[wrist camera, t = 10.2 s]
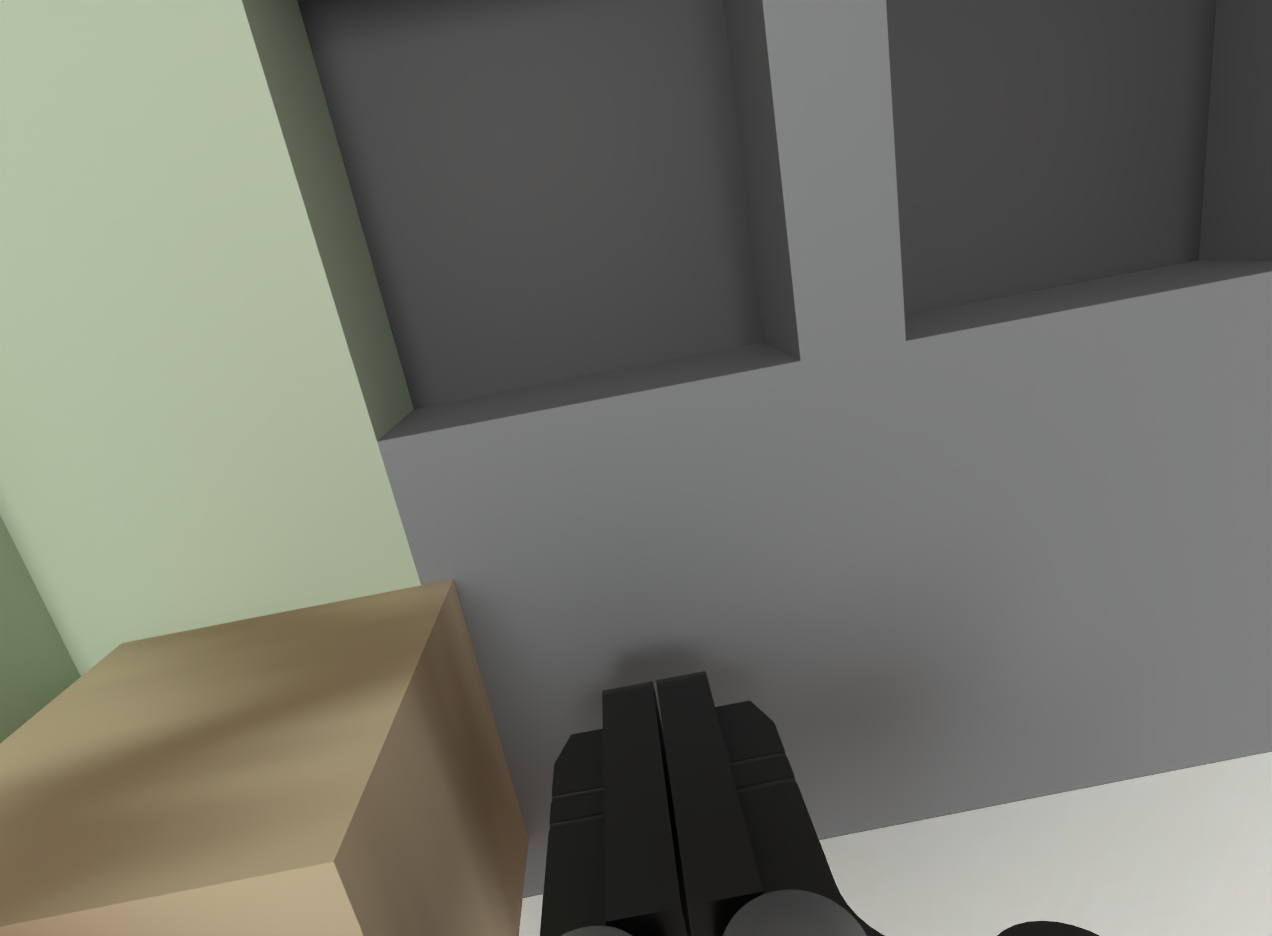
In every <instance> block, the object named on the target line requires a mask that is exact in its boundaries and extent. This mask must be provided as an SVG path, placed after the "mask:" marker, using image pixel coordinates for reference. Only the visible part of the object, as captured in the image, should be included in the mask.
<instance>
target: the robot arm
mask: <svg viewBox="0 0 1272 936" xmlns="http://www.w3.org/2000/svg"><path fill="white" fill-rule="evenodd" d="M656 684H657V692H658V699H659V706H660V713H661V718H660V713H659V708H658V703H657V699H656V694H655V689H654V685H653V681H650V682H645V683H640V684H634V685H629V686H624V687H619V688H613V689H608V690H603V693H602V714H603V729H598V730H592V731H587V732H582V733H576V734H571V736H570V737H569V739H568V741H567V743H566V744H565V746H564V748H563V749H562V751H561V753H560V755H559V756H558V758H557V760H556V762H555V763H554V771H553V784H552V802H551V808H550V820H549V824H550V830H549V832H548V844H547V857H546V869H545V881H544V893H543V905H542V917H541V929H540V936H884V935H882V934H881V933H879V932H878V931H876V930H874V929H873V928H871V927H870V926H869V925H867V924H866V923H865V922H864V921H863V920H862V919H860V918H859V917H858V916H857V915H856V914H855V913H854V912H853V910H852V909H851V908H850V907H849V906H848V905H847V903H846V902H845V900H844V899H843V897H842V896H841V894H840V892H839V890H838V888H837V886H836V884H835V881H834V879H833V876H832V873H831V871H830V868H829V865H828V863H827V860H826V857H825V855H824V852H823V850H822V847H821V844H820V842H819V839H818V836H817V834H816V831H815V828H814V826H813V823H812V821H811V818H810V815H809V813H808V810H807V807H806V805H805V802H804V799H803V797H802V794H801V792H800V789H799V786H798V784H797V783H796V780H795V776H794V773H793V770H792V768H791V765H790V763H789V760H788V757H786V753H785V749H784V747H783V744H782V742H781V739H780V736H779V734H778V731H777V728H776V726H775V723H774V722H773V721H772V720H771V719H770V718H769V717H768V716H767V715H766V714H765V713H763V712H762V711H761V710H760V709H759V708H758V707H757V706H756V705H755V704H753V703H752V702H751V701H750V700H749V701H744V702H739V703H734V704H728V705H723V706H718V707H715V705H714V701H713V697H712V693H711V689H710V686H709V682H708V678H707V674H706V671H702V672H697V673H691V674H686V675H681V676H676V677H670V678H665V679H660V680H656ZM661 720H662V723H661ZM662 727H663V728H662ZM997 936H1099V935H1097V934H1095V933H1093V932H1091V931H1088V930H1085V929H1082V928H1079V927H1076V926H1073V925H1069V924H1064V923H1059V922H1050V921H1033V922H1025V923H1021V924H1017V925H1014V926H1012V927H1010V928H1008V929H1006V930H1004V931H1002V932H1001V933H1000V934H999V935H997Z"/></svg>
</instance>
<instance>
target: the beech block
mask: <svg viewBox="0 0 1272 936" xmlns="http://www.w3.org/2000/svg"><path fill="white" fill-rule="evenodd" d="M528 841H529V838H528V835H527V831H526V828H525V825H524V821H523V818H522V814H521V811H520V807H519V804H518V800H517V797H516V794H515V790H514V787H513V783H512V780H511V776H510V773H509V770H508V766H507V763H506V759H505V756H504V752H503V749H502V745H501V742H500V739H499V735H498V732H497V728H496V725H495V721H494V718H493V714H492V711H491V708H490V704H489V701H488V697H487V694H486V690H485V687H484V684H483V680H482V677H481V673H480V670H479V666H478V663H477V659H476V656H475V653H474V649H473V646H472V642H471V639H470V635H469V632H468V629H467V625H466V622H465V618H464V615H463V611H462V608H461V604H460V601H459V598H458V594H457V591H456V587H455V584H454V580H453V579H451V580H446V581H441V582H436V583H431V584H426V585H420V586H415V587H410V588H405V589H400V590H394V591H389V592H384V593H379V594H374V595H369V596H363V597H358V598H353V599H348V600H343V601H337V602H332V603H327V604H322V605H317V606H312V607H306V608H301V609H296V610H291V611H286V612H280V613H275V614H270V615H265V616H260V617H255V618H249V619H244V620H239V621H234V622H229V623H223V624H218V625H213V626H208V627H203V628H198V629H192V630H187V631H182V632H177V633H172V634H166V635H161V636H156V637H151V638H146V639H141V640H135V641H130V642H125V643H121V644H120V645H119V646H117V647H116V648H115V649H114V650H113V651H111V652H110V653H109V654H108V655H107V656H105V657H104V658H103V659H102V660H101V661H99V662H98V663H97V664H96V665H95V666H93V667H92V668H91V669H90V670H88V671H87V672H86V673H85V674H84V675H82V676H81V677H80V678H79V679H78V680H76V681H75V682H74V683H73V684H72V685H70V686H69V687H68V688H67V689H66V690H64V691H63V692H62V693H61V694H59V695H58V696H57V697H56V698H55V699H53V700H52V701H51V702H50V703H49V704H47V705H46V706H45V707H44V708H43V709H41V710H40V711H39V712H38V713H37V714H35V715H34V716H33V717H32V718H31V719H29V720H28V721H27V722H26V723H24V724H23V725H22V726H21V727H20V728H18V729H17V730H16V731H15V732H14V733H12V734H11V735H10V736H9V737H8V738H6V739H5V740H4V741H3V742H2V743H0V936H519V926H520V917H521V907H522V898H523V888H524V879H525V870H526V860H527V851H528Z"/></svg>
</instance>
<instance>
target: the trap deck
mask: <svg viewBox="0 0 1272 936" xmlns="http://www.w3.org/2000/svg"><path fill="white" fill-rule="evenodd" d="M451 579H453V580H454V584H455V587H456V591H457V594H458V598H459V601H460V604H461V608H462V611H463V615H464V618H465V622H466V625H467V629H468V632H469V635H470V639H471V642H472V646H473V649H474V653H475V656H476V659H477V663H478V666H479V670H480V673H481V677H482V680H483V684H484V687H485V690H486V694H487V697H488V701H489V704H490V708H491V711H492V714H493V718H494V721H495V725H496V728H497V732H498V735H499V739H500V742H501V745H502V749H503V752H504V756H505V759H506V763H507V766H508V770H509V773H510V776H511V780H512V783H513V787H514V790H515V794H516V797H517V800H518V804H519V807H520V811H521V814H522V818H523V821H524V825H525V828H526V831H527V835H528V838H529V841H528V851H527V860H526V870H525V879H524V888H523V898H525V897H530V896H535V895H540V894H543V893H544V881H545V869H546V857H547V844H548V832H549V830H550V824H549V820H550V808H551V802H552V784H553V771H554V763H555V762H556V760H557V758H558V756H559V755H560V753H561V751H562V749H563V748H564V746H565V744H566V743H567V741H568V739H569V737H570V736H571V734H576V733H582V732H587V731H592V730H598V729H603V714H602V693H603V690H608V689H613V688H619V687H624V686H629V685H634V684H640V683H645V682H650V681H653V685H654V689H655V694H656V699H657V703H658V708H659V713H660V706H659V699H658V692H657V684H656V680H660V679H665V678H670V677H676V676H681V675H686V674H691V673H697V672H702V671H706V674H707V678H708V682H709V686H710V689H711V693H712V697H713V701H714V705H715V707H718V706H723V705H728V704H734V703H739V702H744V701H749V700H750V701H751V702H752V703H753V704H755V705H756V706H757V707H758V708H759V709H760V710H761V711H762V712H763V713H765V714H766V715H767V716H768V717H769V718H770V719H771V720H772V721H773V722H774V723H775V726H776V728H777V731H778V734H779V736H780V739H781V742H782V744H783V747H784V749H785V753H786V757H788V760H789V763H790V765H791V768H792V770H793V773H794V776H795V780H796V783H797V784H798V786H799V789H800V792H801V794H802V797H803V799H804V802H805V805H806V807H807V810H808V813H809V815H810V818H811V821H812V823H813V826H814V828H815V831H816V834H817V836H818V839H819V840H821V839H827V838H832V837H837V836H842V835H847V834H852V833H857V832H862V831H867V830H873V829H878V828H883V827H888V826H893V825H898V824H903V823H908V822H913V821H919V820H924V819H929V818H934V817H939V816H944V815H949V814H954V813H959V812H965V811H970V810H975V809H980V808H985V807H990V806H995V805H1000V804H1005V803H1010V802H1016V801H1021V800H1026V799H1031V798H1036V797H1041V796H1046V795H1051V794H1056V793H1062V792H1067V791H1072V790H1077V789H1082V788H1087V787H1092V786H1097V785H1102V784H1108V783H1113V782H1118V781H1123V780H1128V779H1133V778H1138V777H1143V776H1148V775H1154V774H1159V773H1164V772H1169V771H1174V770H1179V769H1184V768H1189V767H1194V766H1200V765H1205V764H1210V763H1215V762H1220V761H1225V760H1230V759H1235V758H1240V757H1246V756H1251V755H1256V754H1261V753H1266V752H1271V751H1272V0H0V743H2V742H3V741H4V740H5V739H6V738H8V737H9V736H10V735H11V734H12V733H14V732H15V731H16V730H17V729H18V728H20V727H21V726H22V725H23V724H24V723H26V722H27V721H28V720H29V719H31V718H32V717H33V716H34V715H35V714H37V713H38V712H39V711H40V710H41V709H43V708H44V707H45V706H46V705H47V704H49V703H50V702H51V701H52V700H53V699H55V698H56V697H57V696H58V695H59V694H61V693H62V692H63V691H64V690H66V689H67V688H68V687H69V686H70V685H72V684H73V683H74V682H75V681H76V680H78V679H79V678H80V677H81V676H82V675H84V674H85V673H86V672H87V671H88V670H90V669H91V668H92V667H93V666H95V665H96V664H97V663H98V662H99V661H101V660H102V659H103V658H104V657H105V656H107V655H108V654H109V653H110V652H111V651H113V650H114V649H115V648H116V647H117V646H119V645H120V644H121V643H125V642H130V641H135V640H141V639H146V638H151V637H156V636H161V635H166V634H172V633H177V632H182V631H187V630H192V629H198V628H203V627H208V626H213V625H218V624H223V623H229V622H234V621H239V620H244V619H249V618H255V617H260V616H265V615H270V614H275V613H280V612H286V611H291V610H296V609H301V608H306V607H312V606H317V605H322V604H327V603H332V602H337V601H343V600H348V599H353V598H358V597H363V596H369V595H374V594H379V593H384V592H389V591H394V590H400V589H405V588H410V587H415V586H420V585H426V584H431V583H436V582H441V581H446V580H451ZM660 718H661V713H660ZM661 723H662V720H661ZM662 728H663V727H662Z"/></svg>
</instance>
